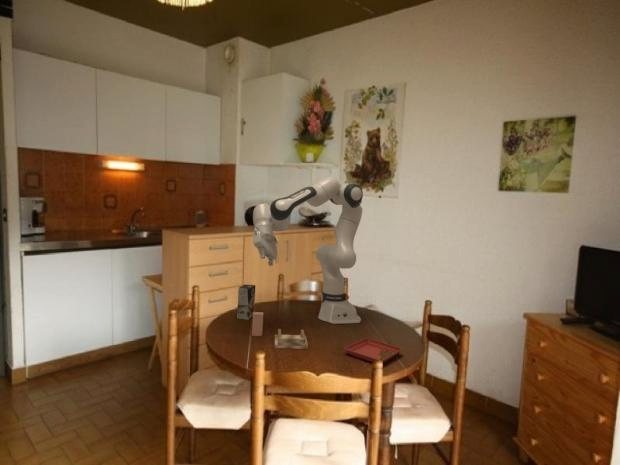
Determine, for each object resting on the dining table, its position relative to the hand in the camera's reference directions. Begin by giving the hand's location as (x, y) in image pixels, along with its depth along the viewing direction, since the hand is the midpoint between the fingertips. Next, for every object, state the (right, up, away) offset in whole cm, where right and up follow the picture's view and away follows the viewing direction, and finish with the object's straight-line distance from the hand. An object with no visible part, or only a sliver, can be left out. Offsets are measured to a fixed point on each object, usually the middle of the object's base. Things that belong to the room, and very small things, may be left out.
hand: (266, 261), depth 187 cm
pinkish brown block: (-4, -33, 0) cm, 33 cm away
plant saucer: (+46, -38, -15) cm, 62 cm away
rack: (+11, -35, -7) cm, 37 cm away
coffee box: (-14, -30, +25) cm, 42 cm away
